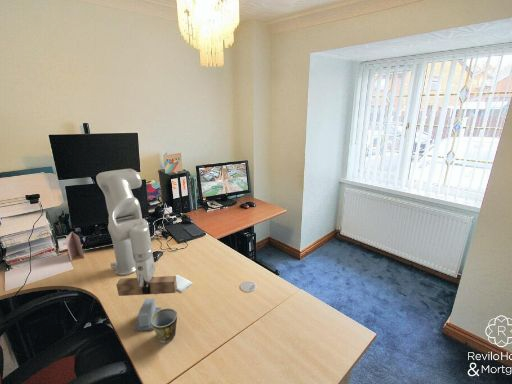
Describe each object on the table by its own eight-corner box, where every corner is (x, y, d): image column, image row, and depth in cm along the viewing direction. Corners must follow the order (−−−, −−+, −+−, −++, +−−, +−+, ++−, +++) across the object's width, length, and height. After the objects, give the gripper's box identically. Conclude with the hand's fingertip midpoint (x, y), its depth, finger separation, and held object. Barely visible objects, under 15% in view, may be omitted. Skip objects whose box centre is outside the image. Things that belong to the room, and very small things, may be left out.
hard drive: (165, 282, 141) (181, 290, 134) (177, 274, 147) (193, 282, 140) (165, 284, 141) (181, 293, 135) (177, 276, 148) (193, 284, 141)
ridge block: (134, 331, 111) (131, 317, 109) (143, 310, 123) (141, 297, 120) (153, 330, 112) (151, 316, 110) (161, 309, 123) (159, 296, 121)
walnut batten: (118, 296, 114) (116, 284, 112) (122, 289, 118) (120, 278, 116) (175, 293, 116) (173, 281, 114) (176, 287, 120) (175, 275, 118)
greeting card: (75, 252, 171) (70, 231, 166) (88, 250, 173) (83, 230, 168) (69, 261, 161) (63, 240, 156) (83, 259, 163) (78, 238, 158)
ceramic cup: (152, 332, 111) (149, 313, 108) (176, 323, 115) (173, 304, 112) (157, 357, 100) (154, 336, 97) (183, 345, 105) (181, 326, 101)
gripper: (145, 264, 103) (151, 302, 109) (157, 243, 119) (161, 277, 125) (125, 265, 103) (132, 303, 108) (140, 244, 118) (145, 278, 124)
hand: (148, 289), depth 116 cm, fingers closed on walnut batten, 4 cm apart
